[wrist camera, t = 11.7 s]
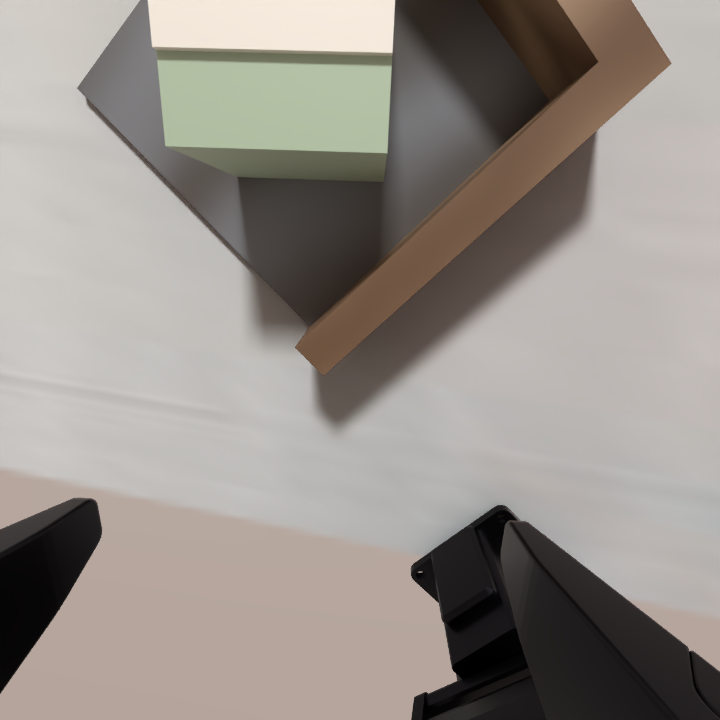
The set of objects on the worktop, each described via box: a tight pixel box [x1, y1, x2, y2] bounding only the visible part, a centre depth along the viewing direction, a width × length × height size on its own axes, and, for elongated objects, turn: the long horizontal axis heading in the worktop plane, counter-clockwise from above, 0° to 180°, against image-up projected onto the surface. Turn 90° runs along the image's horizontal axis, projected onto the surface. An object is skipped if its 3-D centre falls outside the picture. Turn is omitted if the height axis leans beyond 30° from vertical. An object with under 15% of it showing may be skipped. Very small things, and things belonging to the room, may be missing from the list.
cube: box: [148, 0, 395, 182], centre depth 13 cm, size 6×6×6 cm
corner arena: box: [77, 0, 671, 376], centre depth 14 cm, size 14×14×4 cm
